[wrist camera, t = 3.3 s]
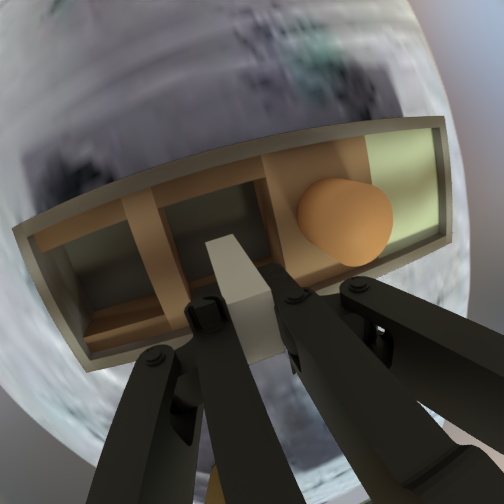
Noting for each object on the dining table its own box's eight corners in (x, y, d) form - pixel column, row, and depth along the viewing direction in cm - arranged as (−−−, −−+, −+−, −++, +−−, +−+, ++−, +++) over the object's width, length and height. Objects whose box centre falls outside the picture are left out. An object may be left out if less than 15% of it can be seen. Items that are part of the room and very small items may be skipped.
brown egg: (361, 235, 21) (394, 252, 17) (304, 255, 20) (331, 277, 16) (353, 171, 19) (389, 176, 15) (290, 186, 18) (318, 194, 15)
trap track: (415, 227, 28) (451, 242, 23) (99, 333, 23) (86, 372, 18) (404, 117, 23) (444, 115, 18) (44, 211, 18) (11, 228, 13)
